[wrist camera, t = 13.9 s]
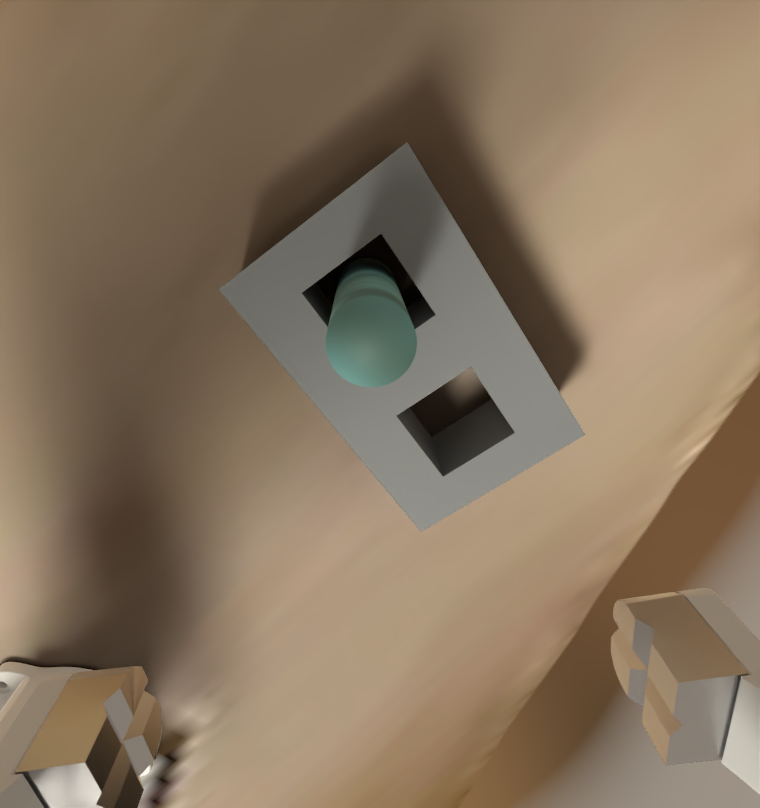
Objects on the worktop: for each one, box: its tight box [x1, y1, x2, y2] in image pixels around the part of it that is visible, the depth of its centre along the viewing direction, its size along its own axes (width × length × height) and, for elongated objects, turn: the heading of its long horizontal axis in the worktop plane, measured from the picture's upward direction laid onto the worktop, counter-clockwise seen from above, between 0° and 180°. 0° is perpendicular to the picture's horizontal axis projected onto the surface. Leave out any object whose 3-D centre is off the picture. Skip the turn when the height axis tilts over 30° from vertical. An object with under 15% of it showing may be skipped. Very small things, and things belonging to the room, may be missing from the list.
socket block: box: [218, 142, 585, 532], centre depth 34 cm, size 13×21×6 cm, turn 35°
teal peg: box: [326, 258, 417, 387], centre depth 29 cm, size 4×4×14 cm
